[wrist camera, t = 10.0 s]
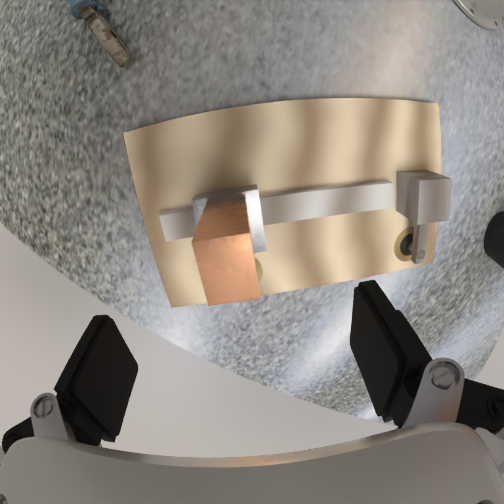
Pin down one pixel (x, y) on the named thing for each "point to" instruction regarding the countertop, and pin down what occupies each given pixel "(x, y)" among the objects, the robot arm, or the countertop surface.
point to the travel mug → (495, 239)
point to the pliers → (101, 28)
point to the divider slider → (228, 243)
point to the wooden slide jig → (298, 187)
